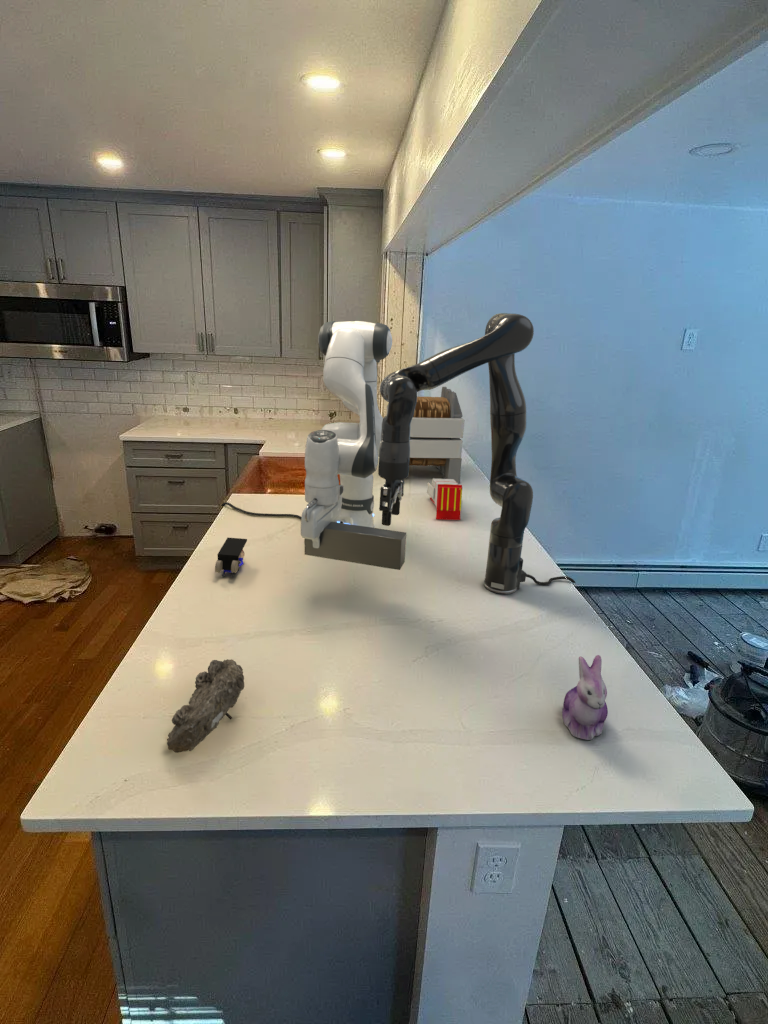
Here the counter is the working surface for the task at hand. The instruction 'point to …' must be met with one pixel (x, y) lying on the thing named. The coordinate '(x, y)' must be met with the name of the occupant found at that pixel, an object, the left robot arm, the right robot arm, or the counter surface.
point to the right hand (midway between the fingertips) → (390, 519)
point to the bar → (360, 545)
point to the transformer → (437, 434)
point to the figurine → (586, 702)
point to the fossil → (206, 705)
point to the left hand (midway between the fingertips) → (321, 542)
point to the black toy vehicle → (230, 556)
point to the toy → (446, 498)
